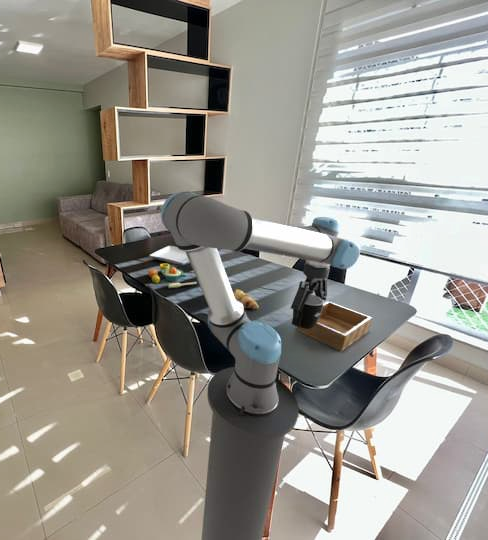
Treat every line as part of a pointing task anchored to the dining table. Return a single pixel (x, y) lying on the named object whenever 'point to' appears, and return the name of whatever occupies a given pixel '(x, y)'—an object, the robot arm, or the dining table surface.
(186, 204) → the robot arm
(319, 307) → the mug
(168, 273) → the toy juicer set
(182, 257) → the square plate
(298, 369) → the dining table surface
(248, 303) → the croissant
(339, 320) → the crate
